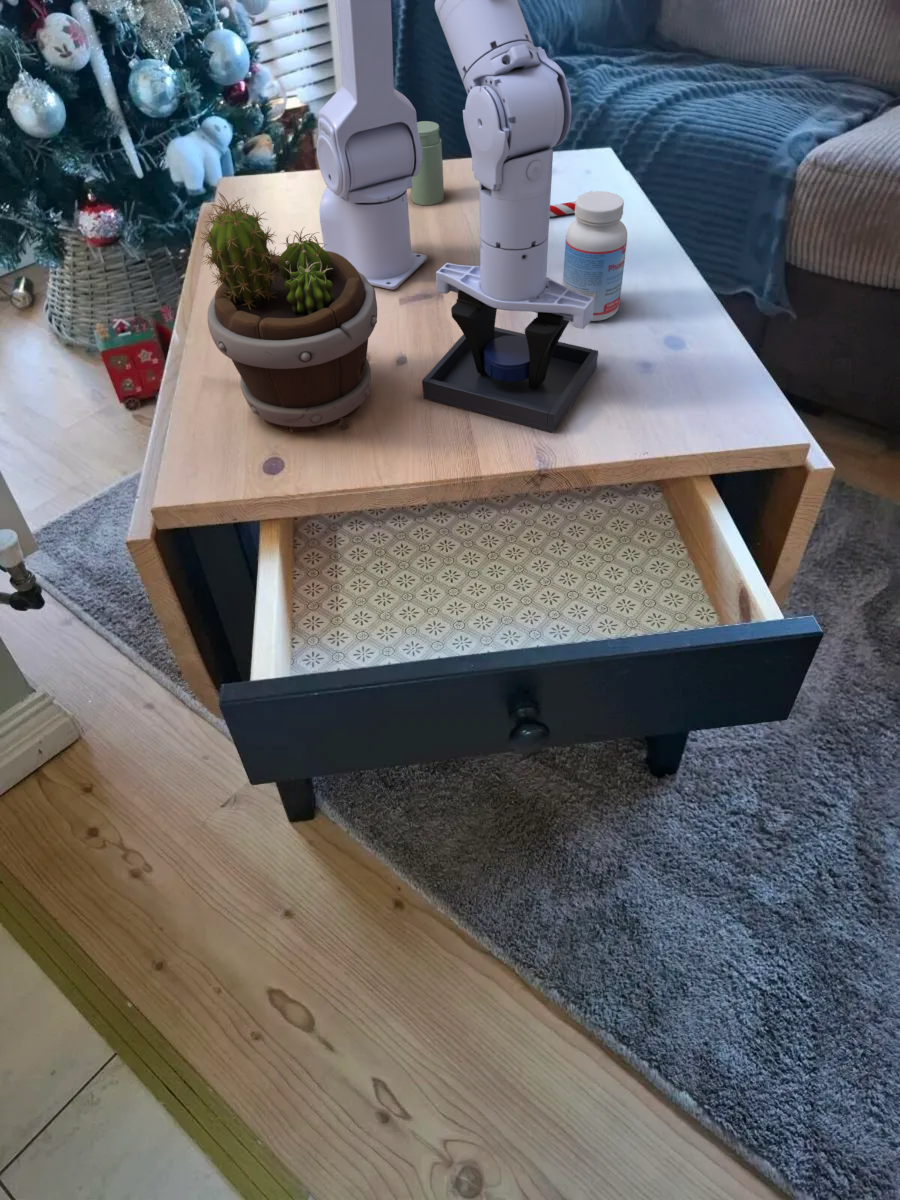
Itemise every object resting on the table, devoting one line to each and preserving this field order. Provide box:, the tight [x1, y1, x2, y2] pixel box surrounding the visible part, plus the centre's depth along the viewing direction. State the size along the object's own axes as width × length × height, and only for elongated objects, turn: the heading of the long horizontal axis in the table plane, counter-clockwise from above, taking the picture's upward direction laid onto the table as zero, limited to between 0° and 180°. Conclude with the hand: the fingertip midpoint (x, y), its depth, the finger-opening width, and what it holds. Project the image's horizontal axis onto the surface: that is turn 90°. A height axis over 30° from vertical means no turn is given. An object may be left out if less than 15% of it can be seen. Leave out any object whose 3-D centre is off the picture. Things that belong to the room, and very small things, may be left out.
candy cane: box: [550, 200, 576, 218], centre depth 106 cm, size 8×1×15 cm
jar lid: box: [484, 336, 530, 382], centre depth 78 cm, size 5×5×2 cm
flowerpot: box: [196, 191, 378, 434], centre depth 72 cm, size 14×15×20 cm
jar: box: [409, 120, 445, 206], centre depth 106 cm, size 4×4×9 cm
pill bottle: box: [561, 190, 628, 322], centre depth 85 cm, size 6×6×11 cm
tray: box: [421, 326, 599, 433], centre depth 80 cm, size 13×11×2 cm
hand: (511, 376), depth 80 cm, fingers closed on jar lid, 5 cm apart
